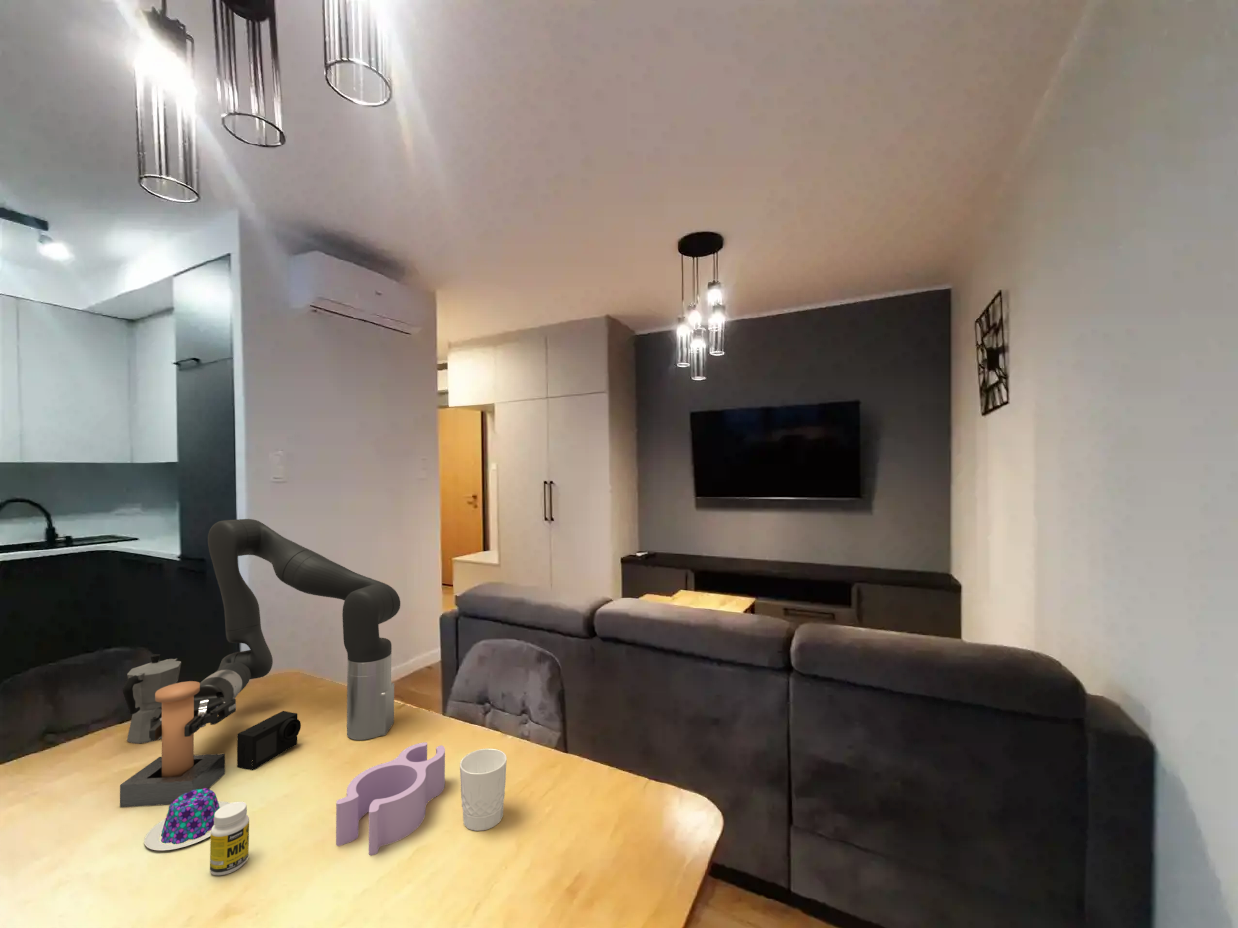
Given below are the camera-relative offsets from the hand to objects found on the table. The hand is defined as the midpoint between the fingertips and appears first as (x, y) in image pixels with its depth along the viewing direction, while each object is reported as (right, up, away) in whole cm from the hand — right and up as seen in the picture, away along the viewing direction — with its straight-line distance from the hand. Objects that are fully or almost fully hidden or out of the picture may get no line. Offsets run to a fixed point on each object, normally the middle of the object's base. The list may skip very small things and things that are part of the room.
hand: (170, 733), depth 95 cm
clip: (+43, -13, -3) cm, 45 cm away
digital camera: (+9, -12, +14) cm, 21 cm away
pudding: (+10, -12, -8) cm, 18 cm away
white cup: (+59, -12, -5) cm, 60 cm away
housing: (-1, -12, +2) cm, 12 cm away
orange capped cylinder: (-1, -10, +3) cm, 10 cm away
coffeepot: (-23, -12, +22) cm, 34 cm away
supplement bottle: (+23, -12, -16) cm, 30 cm away
